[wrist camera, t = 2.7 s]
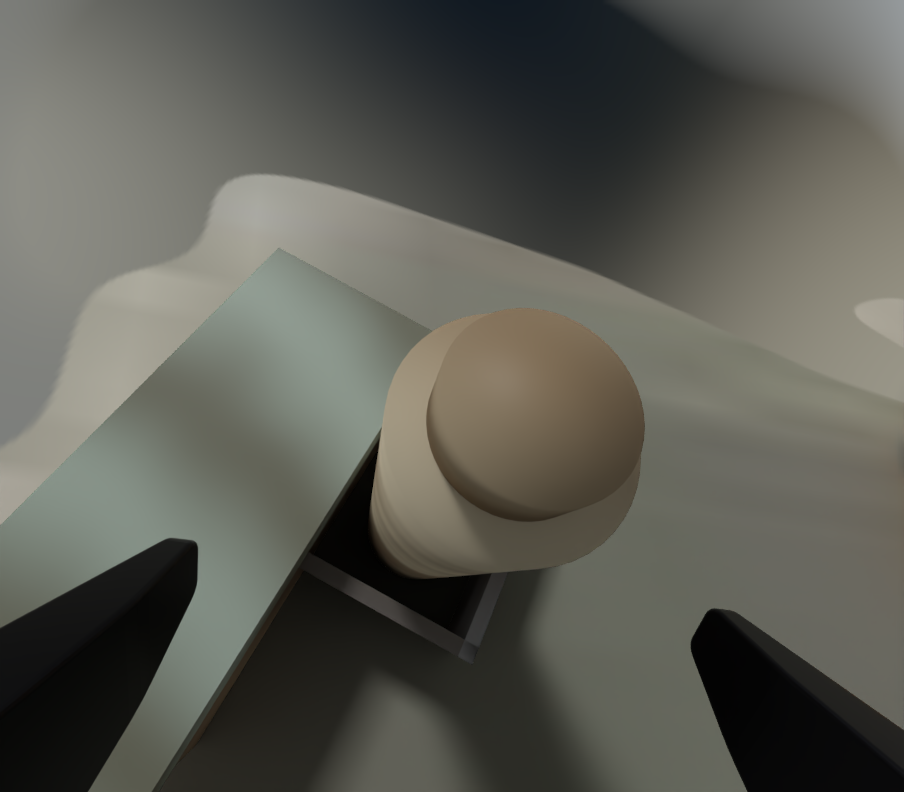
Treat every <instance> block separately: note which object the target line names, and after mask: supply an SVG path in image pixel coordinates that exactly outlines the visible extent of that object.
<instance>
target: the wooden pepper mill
mask: <svg viewBox="0 0 904 792" xmlns="http://www.w3.org/2000/svg"><path fill="white" fill-rule="evenodd" d="M644 430H645V424H644V412H643V407H642V402H641V399H640V396H639V393H638V390H637V387H636V385H635V383H634V381H633V378H632V376H631V375H630V373H629V371H628V370H627V368H626V366H625V365H624V363H623V362H622V361H621V359H620V358H619V357H618V355H617V354H616V353H615V352H614V351H613V350H612V349H611V348H610V346H609V345H608V344H606V343H605V342H604V341H603V340H602V339H601V338H600V337H599V336H597V335H596V334H595V333H593V332H592V331H591V330H589V329H588V328H586V327H584V326H583V325H581V324H579V323H578V322H576V321H574V320H571V319H569V318H567V317H565V316H562V315H559V314H556V313H553V312H549V311H545V310H539V309H531V308H515V309H506V310H502V311H498V312H494V313H491V314H480V315H473V316H469V317H464V318H460V319H457V320H455V321H452V322H449V323H447V324H445V325H443V326H441V327H439V328H437V329H436V330H434V331H432V332H431V333H430V334H428V335H427V336H425V337H424V338H423V339H421V340H420V341H419V342H418V343H417V344H416V345H415V346H414V347H413V348H412V349H411V350H410V352H409V353H408V354H407V356H406V357H405V358H404V359H403V361H402V362H401V364H400V366H399V368H398V369H397V371H396V373H395V375H394V377H393V380H392V382H391V385H390V388H389V390H388V395H387V399H386V404H385V409H384V416H383V423H382V430H381V436H380V443H379V450H378V457H377V463H376V470H375V477H374V484H373V490H372V497H371V504H370V511H369V517H368V527H367V530H368V539H369V543H370V547H371V549H372V551H373V553H374V555H375V557H376V558H377V560H378V561H379V562H380V563H381V565H382V566H383V567H385V568H386V569H387V570H388V571H390V572H391V573H393V574H395V575H397V576H399V577H402V578H406V579H412V580H420V579H431V578H443V577H454V576H466V575H477V574H489V573H500V572H512V571H523V570H534V569H543V568H550V567H556V566H560V565H563V564H566V563H569V562H573V561H575V560H577V559H579V558H581V557H583V556H585V555H587V554H589V553H590V552H592V551H593V550H595V549H596V548H597V547H599V546H600V545H602V544H603V543H604V542H605V541H606V540H607V539H608V538H609V537H610V536H611V535H612V534H613V533H614V532H615V531H616V529H617V528H618V527H619V525H620V524H621V522H622V521H623V520H624V518H625V516H626V514H627V512H628V510H629V509H630V507H631V505H632V502H633V499H634V496H635V493H636V490H637V486H638V481H639V476H640V463H641V451H642V446H643V441H644Z"/></svg>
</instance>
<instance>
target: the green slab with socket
mask: <svg viewBox="0 0 904 792" xmlns="http://www.w3.org/2000/svg"><path fill="white" fill-rule="evenodd" d="M431 332H432V331H431V330H429V329H428V328H426V327H424V326H422V325H420V324H418V323H416V322H415V321H413V320H411V319H409V318H407V317H405V316H404V315H402V314H400V313H398V312H396V311H394V310H393V309H391V308H389V307H387V306H385V305H383V304H382V303H380V302H378V301H376V300H374V299H372V298H371V297H369V296H367V295H365V294H363V293H361V292H359V291H358V290H356V289H354V288H352V287H350V286H348V285H347V284H345V283H343V282H341V281H339V280H337V279H336V278H334V277H332V276H330V275H328V274H326V273H325V272H323V271H321V270H319V269H317V268H315V267H314V266H312V265H310V264H308V263H306V262H304V261H303V260H301V259H299V258H297V257H295V256H293V255H291V254H290V253H288V252H286V251H284V250H282V249H280V248H278V249H277V250H276V251H275V252H274V253H273V254H272V255H271V256H270V257H269V258H268V259H267V260H266V261H265V262H264V263H263V264H262V265H261V266H260V267H259V268H258V269H257V270H256V271H255V272H254V273H253V274H252V275H251V276H250V277H249V278H248V279H247V280H246V281H245V282H244V283H243V284H242V285H241V286H240V287H239V288H238V289H237V290H236V291H235V292H234V293H233V294H232V295H231V296H230V297H229V298H228V299H227V300H226V301H225V302H224V303H223V304H222V305H221V306H220V307H219V308H218V309H217V310H216V311H215V312H214V313H213V314H212V315H211V316H210V317H209V318H208V319H207V320H206V321H205V322H204V323H203V324H202V325H201V326H200V327H199V328H198V329H197V330H196V331H195V332H194V333H193V334H192V335H191V336H190V337H189V338H188V339H187V340H186V341H185V342H184V343H183V344H182V345H181V346H180V347H179V348H178V349H177V350H176V351H175V352H174V353H173V354H172V355H171V356H170V357H169V358H168V359H167V360H166V361H165V362H164V363H163V364H162V365H161V366H160V367H159V368H158V369H157V370H156V371H155V372H154V373H153V374H152V375H151V376H150V377H149V378H148V379H147V380H146V381H145V382H144V383H143V384H142V385H141V386H140V387H139V388H138V389H137V390H136V391H135V392H134V393H133V394H132V395H131V396H130V397H129V398H128V399H127V400H126V401H125V402H124V403H123V404H122V405H121V406H120V407H119V408H118V409H117V410H116V411H115V412H114V413H113V414H112V415H111V416H110V417H109V418H108V419H107V420H106V421H105V422H104V423H103V424H102V425H101V426H100V427H99V428H98V429H97V430H96V431H95V432H94V433H93V434H92V435H91V436H90V437H89V438H88V439H87V440H86V441H85V442H84V443H83V444H82V445H81V446H80V447H79V448H78V449H77V450H76V451H75V452H74V453H73V454H72V455H71V456H70V457H69V458H68V459H67V460H66V461H65V462H64V463H63V464H62V465H61V466H60V467H59V468H58V469H57V470H56V471H55V472H54V473H53V474H52V475H51V476H49V477H48V478H47V479H46V480H45V481H44V482H43V483H42V484H41V485H40V486H39V487H38V488H37V489H36V490H35V491H34V492H33V493H32V494H31V495H30V496H29V497H28V498H27V499H26V500H25V501H24V502H23V503H22V504H21V505H20V506H19V507H18V508H17V509H16V510H15V511H14V512H13V513H12V514H11V515H10V516H9V517H8V518H7V519H6V520H5V521H4V522H3V523H2V524H1V525H0V627H2V626H4V625H6V624H8V623H10V622H12V621H13V620H15V619H17V618H19V617H21V616H23V615H25V614H26V613H28V612H30V611H32V610H34V609H36V608H38V607H39V606H41V605H43V604H45V603H47V602H49V601H51V600H52V599H54V598H56V597H58V596H60V595H62V594H64V593H65V592H67V591H69V590H71V589H73V588H75V587H77V586H78V585H80V584H82V583H84V582H86V581H88V580H90V579H92V578H93V577H95V576H97V575H99V574H101V573H103V572H105V571H106V570H108V569H110V568H112V567H114V566H116V565H118V564H119V563H121V562H123V561H125V560H127V559H129V558H131V557H132V556H134V555H136V554H138V553H140V552H142V551H144V550H145V549H147V548H149V547H151V546H153V545H155V544H157V543H158V542H160V541H162V540H164V539H167V538H179V539H187V540H193V541H195V542H196V543H197V545H198V581H197V587H196V590H195V593H194V596H193V598H192V600H191V602H190V604H189V606H188V608H187V611H186V613H185V615H184V617H183V619H182V621H181V623H180V625H179V627H178V629H177V631H176V633H175V635H174V637H173V639H172V641H171V644H170V646H169V648H168V650H167V652H166V654H165V656H164V658H163V660H162V662H161V664H160V666H159V668H158V670H157V672H156V674H155V677H154V679H153V681H152V683H151V685H150V687H149V689H148V691H147V693H146V695H145V697H144V699H143V700H142V702H141V704H140V706H139V708H138V709H137V711H136V713H135V715H134V716H133V718H132V720H131V722H130V723H129V725H128V727H127V728H126V730H125V732H124V733H123V735H122V737H121V738H120V740H119V742H118V743H117V745H116V746H115V748H114V750H113V751H112V753H111V755H110V756H109V758H108V760H107V761H106V763H105V765H104V766H103V768H102V770H101V771H100V773H99V775H98V776H97V778H96V780H95V781H94V783H93V785H92V786H91V788H90V790H89V791H88V792H159V791H160V789H161V787H162V786H163V784H164V783H165V781H166V779H167V778H168V776H169V775H170V773H171V771H172V770H173V768H174V767H175V765H176V764H177V763H178V762H179V761H180V760H181V759H182V758H183V757H184V756H185V755H186V754H187V753H188V752H189V751H190V750H191V749H192V748H193V747H194V746H195V745H196V744H197V742H198V741H199V739H200V738H201V736H202V734H203V733H204V731H205V730H206V728H207V726H208V725H209V723H210V721H211V720H212V718H213V717H214V715H215V713H216V712H217V710H218V708H219V707H220V705H221V704H222V702H223V700H224V699H225V697H226V695H227V694H228V692H229V691H230V689H231V687H232V686H233V684H234V682H235V681H236V679H237V678H238V676H239V674H240V673H241V671H242V670H243V668H244V666H245V665H246V663H247V661H248V660H249V658H250V657H251V655H252V653H253V652H254V650H255V648H256V647H257V645H258V644H259V642H260V640H261V639H262V637H263V635H264V634H265V632H266V631H267V629H268V627H269V626H270V624H271V622H272V621H273V619H274V618H275V616H276V614H277V613H278V611H279V609H280V608H281V606H282V605H283V603H284V601H285V600H286V598H287V597H288V595H289V593H290V592H291V590H292V588H293V587H294V585H295V584H296V582H297V580H298V579H299V577H300V575H301V574H302V572H303V571H306V572H308V573H310V574H311V575H313V576H315V577H317V578H318V579H320V580H322V581H324V582H326V583H327V584H329V585H331V586H333V587H334V588H336V589H338V590H340V591H342V592H343V593H345V594H347V595H349V596H350V597H352V598H354V599H356V600H358V601H359V602H361V603H363V604H365V605H367V606H368V607H370V608H372V609H374V610H375V611H377V612H379V613H381V614H383V615H384V616H386V617H388V618H390V619H391V620H393V621H395V622H397V623H399V624H400V625H402V626H404V627H406V628H408V629H409V630H411V631H413V632H415V633H416V634H418V635H420V636H422V637H424V638H425V639H427V640H429V641H431V642H432V643H434V644H436V645H438V646H440V647H441V648H443V649H445V650H447V651H448V652H450V653H452V654H454V655H456V656H457V657H459V658H461V659H463V660H465V661H466V662H468V663H470V664H473V662H474V659H475V656H476V654H477V651H478V649H479V646H480V644H481V641H482V638H483V636H484V633H485V631H486V628H487V626H488V623H489V620H490V618H491V615H492V613H493V610H494V608H495V605H496V602H497V600H498V597H499V595H500V592H501V590H502V587H503V585H504V582H505V579H506V577H507V574H508V572H500V573H489V574H477V575H470V577H469V579H468V582H467V584H466V586H465V589H464V591H463V593H462V596H461V598H460V600H459V603H458V605H457V607H456V610H455V612H454V614H453V617H452V619H451V621H450V624H449V626H448V628H447V629H445V628H443V627H441V626H439V625H438V624H436V623H434V622H432V621H431V620H429V619H427V618H425V617H423V616H422V615H420V614H418V613H416V612H414V611H413V610H411V609H409V608H407V607H406V606H404V605H402V604H400V603H398V602H397V601H395V600H393V599H391V598H389V597H388V596H386V595H384V594H382V593H381V592H379V591H377V590H375V589H373V588H372V587H370V586H368V585H366V584H364V583H363V582H361V581H359V580H357V579H356V578H354V577H352V576H350V575H348V574H347V573H345V572H343V571H341V570H339V569H338V568H336V567H334V566H332V565H331V564H329V563H327V562H325V561H323V560H322V559H320V558H318V557H316V556H314V555H313V554H314V553H315V551H316V549H317V548H318V546H319V545H320V543H321V541H322V540H323V538H324V536H325V535H326V533H327V532H328V530H329V528H330V527H331V525H332V524H333V522H334V520H335V519H336V517H337V515H338V514H339V512H340V511H341V509H342V507H343V506H344V504H345V502H346V501H347V499H348V498H349V496H350V494H351V493H352V491H353V489H354V488H355V486H356V485H357V483H358V481H359V480H360V478H361V476H362V475H363V473H364V472H365V470H366V468H367V467H368V465H369V463H370V462H371V460H372V459H373V457H374V455H375V454H376V452H377V451H378V449H379V443H380V436H381V430H382V423H383V416H384V409H385V404H386V399H387V395H388V390H389V388H390V385H391V382H392V380H393V377H394V375H395V373H396V371H397V369H398V368H399V366H400V364H401V362H402V361H403V359H404V358H405V357H406V356H407V354H408V353H409V352H410V350H411V349H412V348H413V347H414V346H415V345H416V344H417V343H418V342H419V341H420V340H421V339H423V338H424V337H425V336H427V335H428V334H430V333H431Z"/></svg>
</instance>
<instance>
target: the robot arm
mask: <svg viewBox="0 0 904 792" xmlns="http://www.w3.org/2000/svg"><path fill="white" fill-rule="evenodd" d="M197 581H198V545H197V543H196V542H195V541H193V540H187V539H179V538H167V539H164V540H162V541H160V542H158V543H157V544H155V545H153V546H151V547H149V548H147V549H145V550H144V551H142V552H140V553H138V554H136V555H134V556H132V557H131V558H129V559H127V560H125V561H123V562H121V563H119V564H118V565H116V566H114V567H112V568H110V569H108V570H106V571H105V572H103V573H101V574H99V575H97V576H95V577H93V578H92V579H90V580H88V581H86V582H84V583H82V584H80V585H78V586H77V587H75V588H73V589H71V590H69V591H67V592H65V593H64V594H62V595H60V596H58V597H56V598H54V599H52V600H51V601H49V602H47V603H45V604H43V605H41V606H39V607H38V608H36V609H34V610H32V611H30V612H28V613H26V614H25V615H23V616H21V617H19V618H17V619H15V620H13V621H12V622H10V623H8V624H6V625H4V626H2V627H0V792H88V791H89V790H90V788H91V786H92V785H93V783H94V781H95V780H96V778H97V776H98V775H99V773H100V771H101V770H102V768H103V766H104V765H105V763H106V761H107V760H108V758H109V756H110V755H111V753H112V751H113V750H114V748H115V746H116V745H117V743H118V742H119V740H120V738H121V737H122V735H123V733H124V732H125V730H126V728H127V727H128V725H129V723H130V722H131V720H132V718H133V716H134V715H135V713H136V711H137V709H138V708H139V706H140V704H141V702H142V700H143V699H144V697H145V695H146V693H147V691H148V689H149V687H150V685H151V683H152V681H153V679H154V677H155V674H156V672H157V670H158V668H159V666H160V664H161V662H162V660H163V658H164V656H165V654H166V652H167V650H168V648H169V646H170V644H171V641H172V639H173V637H174V635H175V633H176V631H177V629H178V627H179V625H180V623H181V621H182V619H183V617H184V615H185V613H186V611H187V608H188V606H189V604H190V602H191V600H192V598H193V596H194V593H195V590H196V587H197ZM691 652H692V656H693V658H694V661H695V664H696V666H697V669H698V672H699V674H700V677H701V680H702V682H703V685H704V687H705V690H706V693H707V695H708V698H709V701H710V703H711V706H712V709H713V711H714V714H715V717H716V719H717V722H718V725H719V727H720V730H721V732H722V735H723V737H724V740H725V742H726V745H727V748H728V750H729V752H730V755H731V757H732V759H733V761H734V764H735V766H736V768H737V770H738V772H739V775H740V777H741V779H742V781H743V783H744V785H745V787H746V790H747V792H904V730H903V729H901V728H900V727H899V726H897V725H896V724H894V723H893V722H891V721H890V720H889V719H887V718H886V717H884V716H883V715H881V714H880V713H879V712H877V711H876V710H874V709H873V708H872V707H870V706H869V705H867V704H866V703H864V702H863V701H862V700H860V699H859V698H857V697H856V696H854V695H853V694H852V693H850V692H849V691H847V690H846V689H844V688H843V687H842V686H840V685H839V684H837V683H836V682H835V681H833V680H832V679H830V678H829V677H827V676H826V675H825V674H823V673H822V672H820V671H819V670H817V669H816V668H815V667H813V666H812V665H810V664H809V663H808V662H806V661H805V660H803V659H802V658H800V657H799V656H798V655H796V654H795V653H793V652H792V651H790V650H789V649H788V648H786V647H785V646H783V645H782V644H780V643H779V642H778V641H776V640H775V639H773V638H772V637H771V636H769V635H768V634H766V633H765V632H763V631H762V630H761V629H759V628H758V627H756V626H755V625H753V624H752V623H751V622H749V621H748V620H746V619H745V618H743V617H742V616H741V615H739V614H738V613H736V612H734V611H730V610H724V609H715V608H714V609H710V610H709V611H707V613H706V614H705V616H704V618H703V619H702V621H701V623H700V625H699V626H698V628H697V630H696V632H695V634H694V635H693V637H692V639H691Z"/></svg>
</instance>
